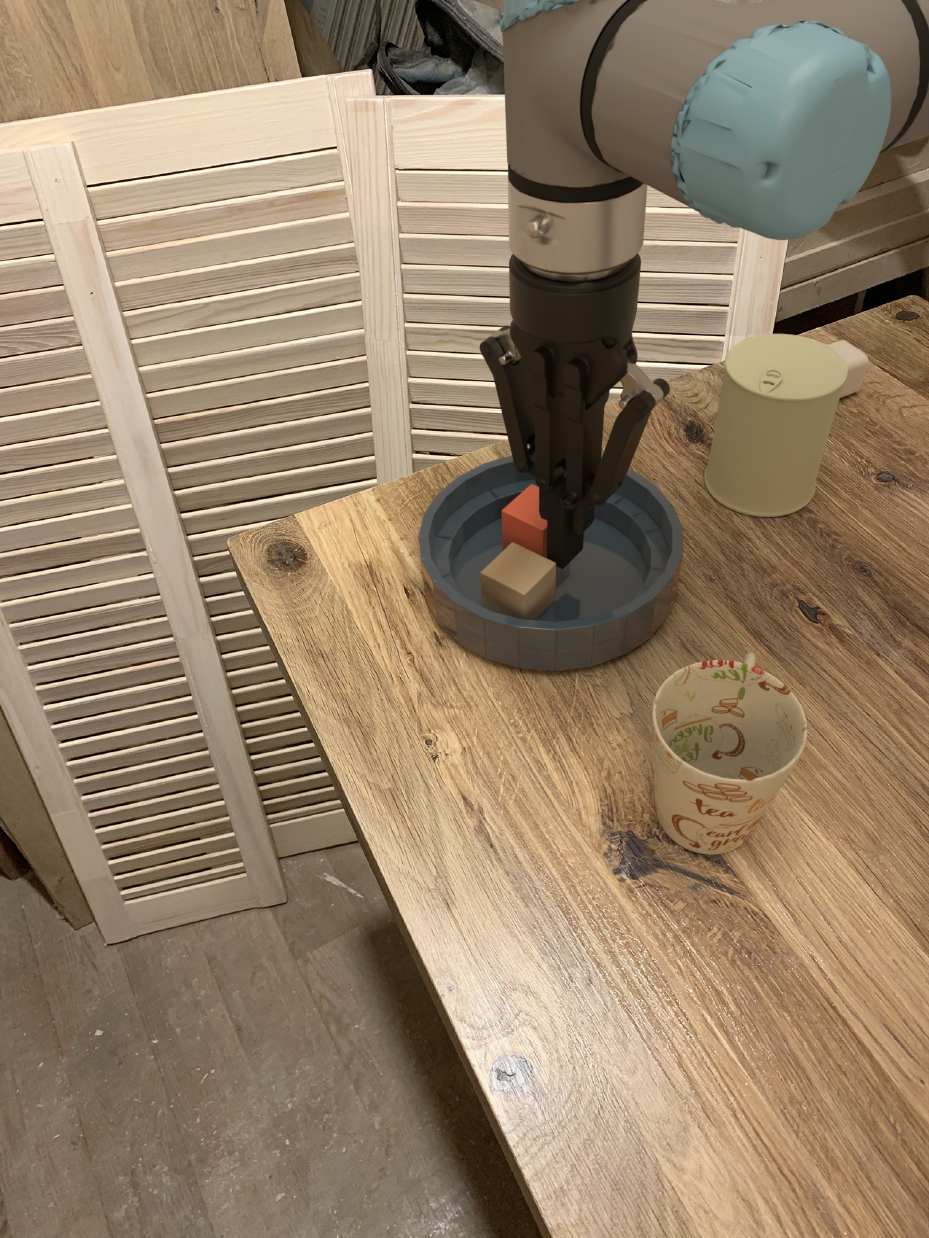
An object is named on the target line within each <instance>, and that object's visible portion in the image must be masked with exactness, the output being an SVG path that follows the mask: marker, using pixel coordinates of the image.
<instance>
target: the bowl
mask: <svg viewBox="0 0 929 1238" xmlns="http://www.w3.org/2000/svg"><path fill="white" fill-rule="evenodd" d="M566 476H567V472H565V473H564V478H565V477H566ZM531 484H533V485H535V486H537V484H536V482H535V477H534V476H533V475H531V474H530V473H529V472H527V473H524V474H523V473H520V472H519V471H518V470H517V469H516V468H515V465H514V462H513V457H512V454H511V455H507V456H504V457H500V458H497V459H494V460H490V461H487V462H484V463H482V464H480V465H478V466H475V467H474V468H472V469H470V470H468V471H465V472H464V473H462V474H460V475H459V476H457V477H456V478H455V479H454V480H452V481H451V482H450V483H449V484H447V485H446V486H445V487H443V488H442V490H440V491H439V492H438V493H437V494H436V495H435V496H434V498H433V500H432V501H431V503H430V504H429V505H428V507H427V509H426V510H425V511H424V513H423V516H422V519H421V524H420V528H419V531H418V536H417V539H418V549H419V555H420V556H419V557H420V564H421V572H422V573H421V574H422V580H423V588H424V596H425V601H426V603H427V605H428V607H429V609H430V611H431V613H432V615H433V617H434V619H435V621H436V623H437V624H438V625H439V626H440V627H441V628H442V629H443V630H444V631H445V632H446V633H447V634H448V635H449V636H451V637H452V639H453V640H454V641H456V642H457V643H458V644H459V645H461V646H462V647H463V648H466V649H468V650H470V651H471V652H472V653H475V654H477V655H478V656H480V657H482V658H484V659H487V660H490V661H493V662H497V663H500V664H503V665H507V666H510V667H513V668H517V669H521V670H523V669H524V670H536V671H537V670H538V671H550V672H555V671H556V672H560V671H567V670H574V669H582V668H590V667H594V666H597V665H600V664H603V663H606V662H609V661H612V660H614V659H618V658H620V657H623V656H625V655H627V654H628V653H629V652H631V651H632V650H634V649H635V648H637V647H638V646H640V645H642V644H643V643H645V642H646V641H648V640H650V639H651V638H652V636H653V635H654V633H655V632H657V630H658V629H659V628H660V626H661V625H662V624H663V623H664V622H665V621H666V619H667V618H668V617H669V615H670V612H671V609H672V607H673V604H674V601H675V599H676V595H677V593H678V587H679V581H680V574H681V568H682V561H683V556H684V528H683V526H682V523H681V521H680V519H679V515H678V513H677V511H676V509H675V507H674V505H673V503H671V502H670V500H669V499H668V498H667V497H666V495H665V494H664V493H663V492H662V491H661V489H659V487H658V486H656V485H655V484H654V483H652V482H651V481H649V480H648V479H647V478H645V477H644V476H643V475H641V474H639V473H637V472H636V471H635V470H633V469H631V468H629V469H628V472H627V474H626V477H625V479H624V482H623V484H622V486H621V487H620V488H619V489H618V490H617V491H616V492H615V493H614V494H613V495H612V496H611V497H610V498H609V499H607V500H606V501H605V502H604V503H603V504H602V505H600V506H598V505H595V510H594V521H593V523H592V524H591V525H590V526H589V527H588V528H587V529H586V530H585V532H584V541H583V550H582V551H581V552H580V553H579V554H578V555H577V556H576V557H575V558H574V559H573V560H572V561H571V562H570V563H569V564H568V565H567V566H566V567H565V568H564V569H561V568H559V567H557V566H556V586H555V601H554V602H553V603H552V604H551V605H550V606H549V607H548V608H547V609H546V610H545V611H544V612H543V614H542V615H541V616H540V617H539V618H538V619H537V620H522V619H518V618H514V617H511V616H507V615H503V614H500V613H496V612H492V611H489V610H487V609H485V608H484V607H482V591H481V574H480V573H481V571H482V570H483V569H484V568H486V567H487V566H488V565H489V564H490V563H491V562H492V561H493V560H494V559H495V558H496V557H497V556H498V555H499V554H500V553H501V552H502V551H503V550H505V549H503V542H502V510H503V509H504V508H505V507H506V506H507V505H508V504H510V503H511V502H512V501H513V500H514V499H515V498H516V497H517V496H519V495H520V494H521V493H522V492H523V491H524V490H525V489H526V488H528V487H529V486H530V485H531ZM537 487H538V486H537Z"/></svg>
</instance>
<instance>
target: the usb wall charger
mask: <svg viewBox="0 0 929 1238" xmlns="http://www.w3.org/2000/svg"><path fill="white" fill-rule="evenodd" d="M826 345H827V346H829V347H831V348H832V349H834V350H835V351H836V352H837V353H839V354H840V355H841V357H842V358H843V359H844V361H845V362H846V365H847V368H848V375H847V379H846V381H845V383H844V386H843V389H842V392H841V395H840V398H839V399H841V398H844V397H847V396H850V395H852V394H855V393H857V392H859V391H861V389H862V386H863V383H864V379H865V376H866V372H867V370H868V366H869V357H868V355H867V353H865V352H863V351H862V350H860V349H859V348H858V347H856V346H854V345H853V344H851V343H850V342H849V341H847V340H845V339H840V340H837V341H835V342H832V343H828V344H826Z"/></svg>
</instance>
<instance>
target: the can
mask: <svg viewBox="0 0 929 1238" xmlns="http://www.w3.org/2000/svg"><path fill="white" fill-rule="evenodd" d="M827 345H828V344H825V343H823V342H821V341H819V340H816V339H814V338H811V337H810V338H809V337H806V336H801V335H796V334H786V333H767V334H766V333H765V334H759V335H755V336H752V337H749V338H746V339H743V340H741V341H739V342H738V343H736V344H734V345H733V346H732V347H731V348H730V349H729V350H728V351H727V353H726V355H725V358H724V363H723V364H724V369H723V376H722V382H721V387H720V394H719V395H720V396H719V401H718V405H717V406H718V408H717V412H716V419H715V425H714V429H713V436H712V443H711V446H710V452H709V457H708V462H707V465H706V467H705V470H704V474H703V475H704V476H703V480H704V484H705V487H706V489H707V491H708V493H709V494H710V495H711V497H712V498H713V499H714V500H715V501H716V502H718V503H719V504H720V505H722V506H724V507H726V508H727V509H729V510H731V511H734V512H736V513H739V514H742V515H745V516H750V517H758V518H775V517H784V516H787V515H791V514H794V513H796V512H798V511H800V510H802V509H803V508H805V507H806V506H807V505H808V504H810V502H811V501H812V499H813V498H814V496H815V493H816V490H817V489H816V488H817V479H818V475H819V472H820V468H821V463H822V461H823V456H824V453H825V450H826V446H827V442H828V440H829V435H830V432H831V429H832V425H833V421H834V418H835V415H836V411H837V408H838V405H839V401H840V399H841V398H840V395H841V392H842V389H843V386H844V383H845V381H846V379H847V375H848V368H847V365H846V362H845V361H844V359H843V358H842V357H841V355H840V354H839V353H837V352H836V351H835V350H834V349H832V348H831V347H829V346H827Z"/></svg>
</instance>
